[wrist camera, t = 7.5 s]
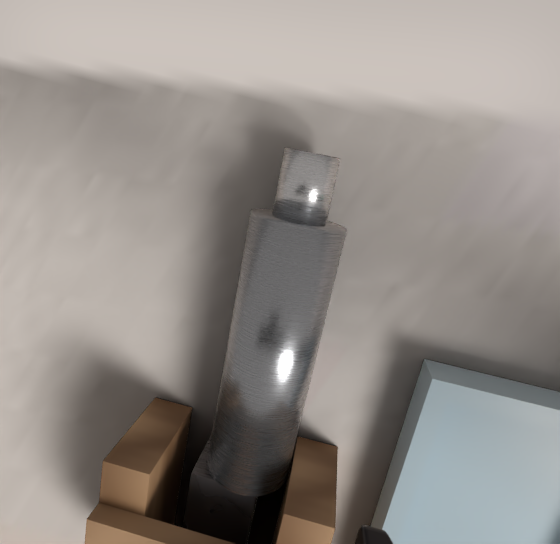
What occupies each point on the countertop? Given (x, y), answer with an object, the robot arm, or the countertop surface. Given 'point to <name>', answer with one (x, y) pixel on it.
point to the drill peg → (276, 327)
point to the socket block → (167, 478)
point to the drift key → (217, 506)
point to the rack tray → (474, 463)
